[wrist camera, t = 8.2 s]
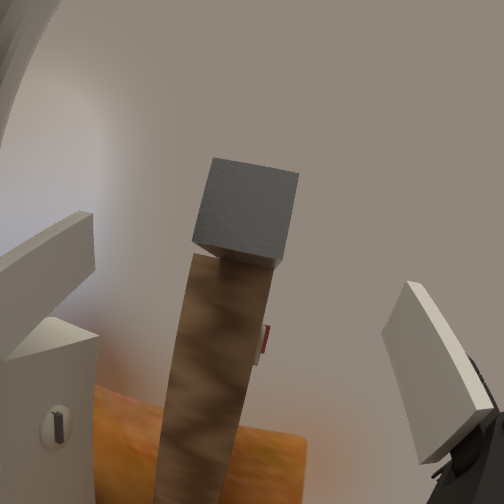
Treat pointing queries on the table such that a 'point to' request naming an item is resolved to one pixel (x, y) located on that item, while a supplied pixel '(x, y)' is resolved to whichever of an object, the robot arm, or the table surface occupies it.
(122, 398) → the table surface
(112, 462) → the table surface
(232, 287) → the tall cabinet
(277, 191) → the grey square bar
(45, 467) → the cream rectangular box
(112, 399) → the table surface
